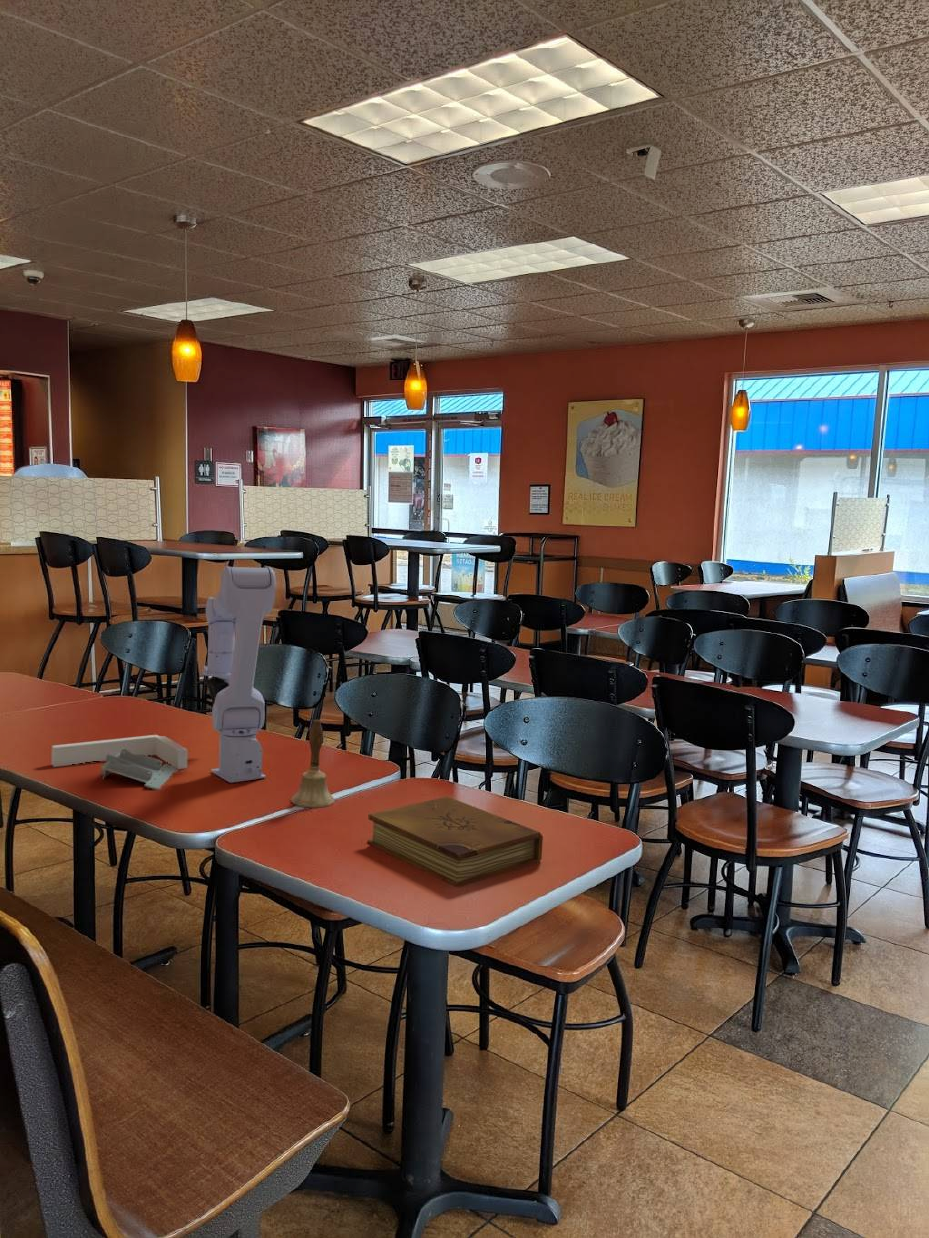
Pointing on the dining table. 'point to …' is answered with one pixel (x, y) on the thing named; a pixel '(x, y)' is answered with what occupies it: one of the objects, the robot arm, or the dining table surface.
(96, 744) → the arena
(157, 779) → the metal bracket
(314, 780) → the hand bell
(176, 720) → the dining table surface
